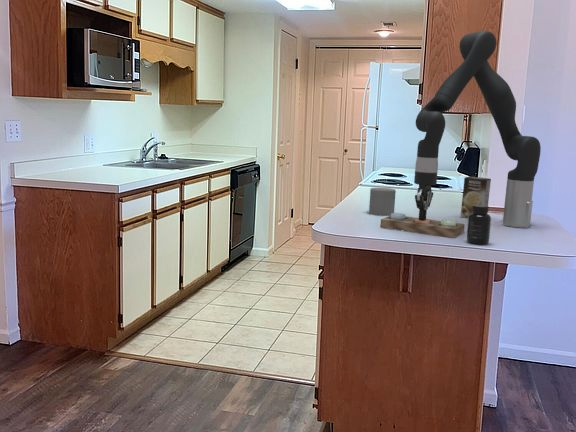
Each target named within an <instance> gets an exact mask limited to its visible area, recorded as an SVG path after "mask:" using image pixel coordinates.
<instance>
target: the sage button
mask: <svg viewBox="0 0 576 432" xmlns="http://www.w3.org/2000/svg"><path fill="white" fill-rule="evenodd" d="M440 221H441V226H448V227H456V223H457V220H455V219H449V218H448V219H447V218H443V219H441V220H440Z"/></svg>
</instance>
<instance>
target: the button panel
mask: <svg viewBox="0 0 576 432" xmlns="http://www.w3.org/2000/svg"><path fill="white" fill-rule="evenodd" d="M415 219H419V217H413V216H406V215H405V220H396V219H391V216H385V217H383V218H380V227H379V228H380V229H387V228H388V229H389V230H394V229H396V230H395V231H401V230H404V231H403V232H408V231H411V232H410V233H415V232H418V233H417V234H422V233H423V235H431V236H437V237H444V238H452V239H455V238H457V237H459V236H460V235H462V234H464V233H465V228H466V227H465V225H466V224H465V223H460V222H456V227H448V226H441V220H438V219H430V218H429V219H428V218H426V220H430V223H428V224H426V223H418V222H415ZM388 229H387V230H388Z"/></svg>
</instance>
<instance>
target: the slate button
mask: <svg viewBox="0 0 576 432" xmlns="http://www.w3.org/2000/svg"><path fill="white" fill-rule="evenodd" d="M405 216H406V214H405V213H401V212H394V213H391V219H396V220H405Z"/></svg>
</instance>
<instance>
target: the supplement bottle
mask: <svg viewBox="0 0 576 432" xmlns="http://www.w3.org/2000/svg"><path fill="white" fill-rule="evenodd" d="M472 211H473V213H471V214H470V215H469V217H468V218H467V219H468V220H467V231H466V233H467V234H466V242H467V243H468V244H471V245H477V246H483V245H485V246H486V245H488V244H489V242H490V237H491V236H490V235H491V234H490V233H491V223H492V216H491V215H490V214H488V213H489V211H490V210H489V205H488V206H486V205H473V209H472Z"/></svg>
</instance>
